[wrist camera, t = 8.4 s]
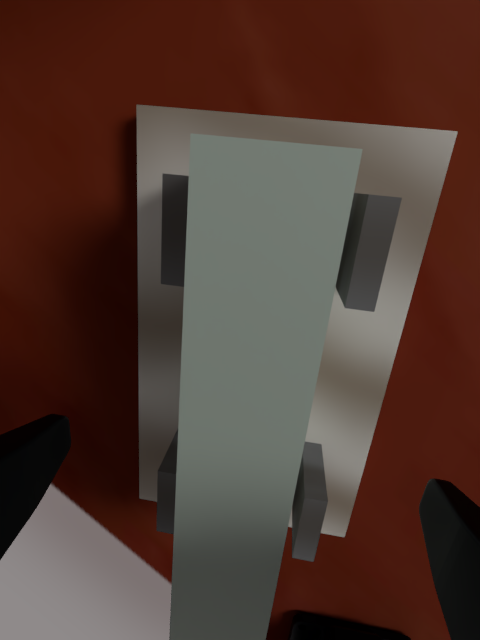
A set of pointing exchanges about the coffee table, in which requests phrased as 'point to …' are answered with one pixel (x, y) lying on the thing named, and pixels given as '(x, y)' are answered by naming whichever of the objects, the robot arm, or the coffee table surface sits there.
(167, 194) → the cabinet panel
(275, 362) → the cabinet door
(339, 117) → the coffee table surface
